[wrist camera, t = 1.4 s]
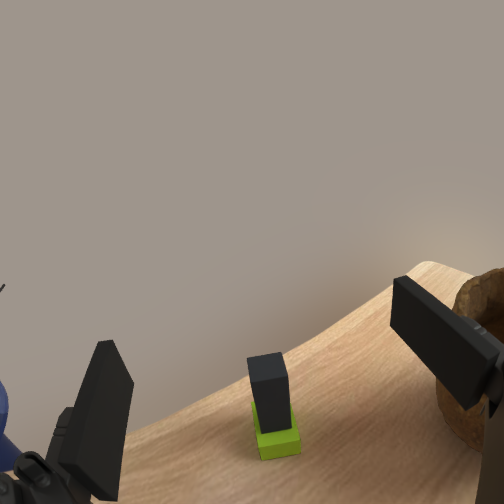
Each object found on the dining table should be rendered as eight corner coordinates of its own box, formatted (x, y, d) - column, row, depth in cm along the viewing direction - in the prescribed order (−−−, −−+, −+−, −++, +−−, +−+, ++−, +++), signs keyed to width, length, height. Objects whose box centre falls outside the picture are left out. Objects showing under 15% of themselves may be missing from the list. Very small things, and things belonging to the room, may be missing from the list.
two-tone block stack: (301, 453, 26) (298, 387, 22) (261, 460, 26) (245, 397, 21) (289, 410, 32) (283, 339, 27) (254, 417, 31) (239, 347, 27)
